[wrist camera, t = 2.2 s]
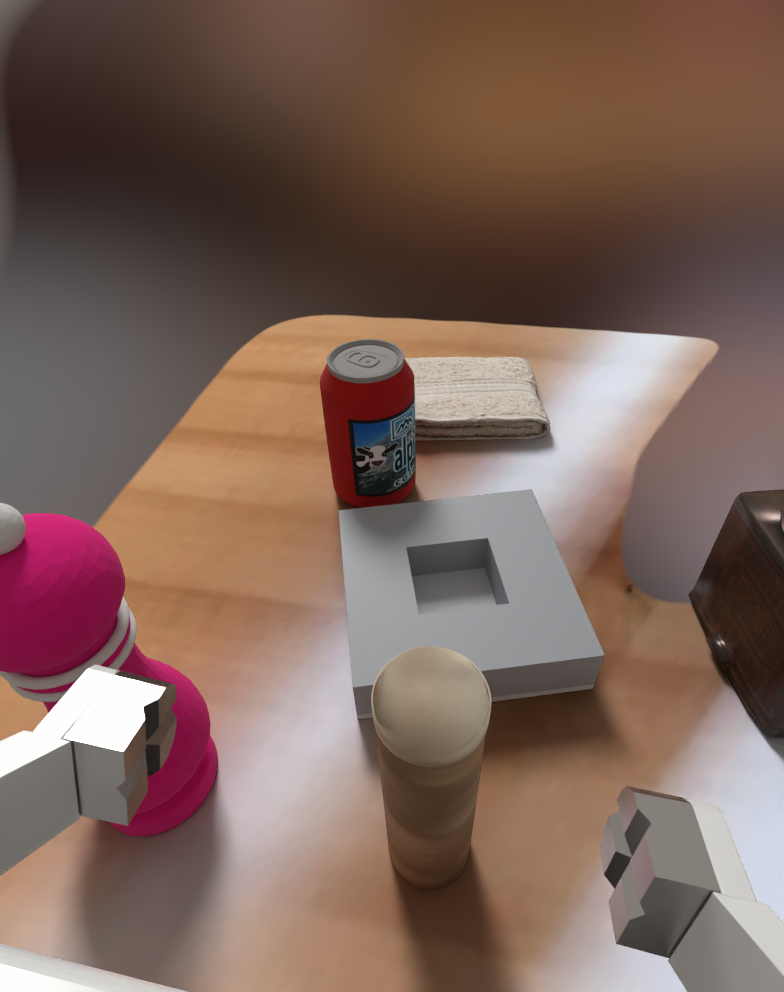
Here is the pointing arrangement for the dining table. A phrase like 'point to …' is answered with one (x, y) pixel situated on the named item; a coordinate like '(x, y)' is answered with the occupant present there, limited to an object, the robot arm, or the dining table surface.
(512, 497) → the hole block
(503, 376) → the washcloth
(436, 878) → the dowel
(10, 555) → the pepper mill
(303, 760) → the dining table surface
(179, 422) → the dining table surface
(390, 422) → the beverage can
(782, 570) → the manual coffee grinder
